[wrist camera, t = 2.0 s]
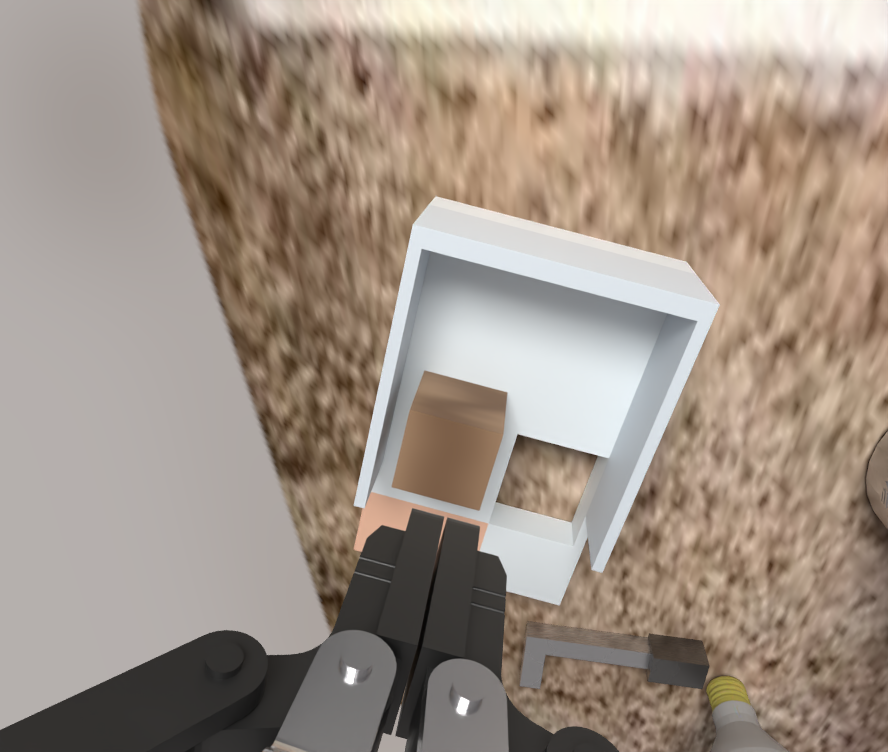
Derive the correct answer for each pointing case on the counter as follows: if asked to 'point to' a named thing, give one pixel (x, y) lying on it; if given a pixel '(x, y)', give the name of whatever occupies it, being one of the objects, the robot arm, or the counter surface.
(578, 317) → the cubby
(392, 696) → the robot arm
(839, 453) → the counter surface
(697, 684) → the hook tool
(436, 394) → the walnut cube
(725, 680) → the light bulb
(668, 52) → the counter surface
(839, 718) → the counter surface
